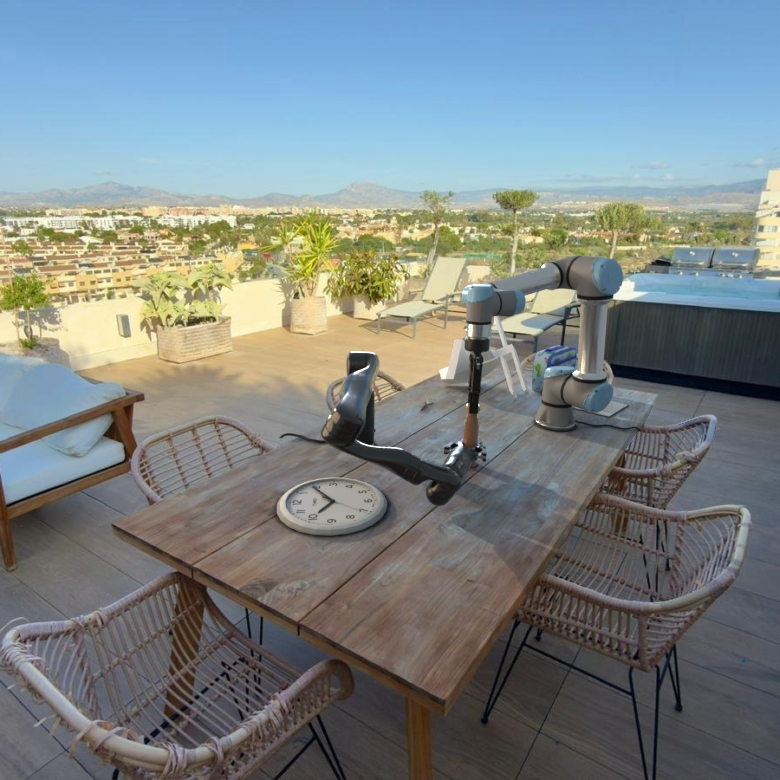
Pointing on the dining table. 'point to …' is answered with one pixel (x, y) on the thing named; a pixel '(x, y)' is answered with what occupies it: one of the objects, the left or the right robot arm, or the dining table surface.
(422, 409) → the fork
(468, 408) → the cap
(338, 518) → the wall clock
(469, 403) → the right robot arm
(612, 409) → the invitation card
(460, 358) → the white plastic object
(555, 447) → the dining table surface
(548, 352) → the lunch box
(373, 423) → the left robot arm
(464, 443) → the bottle
